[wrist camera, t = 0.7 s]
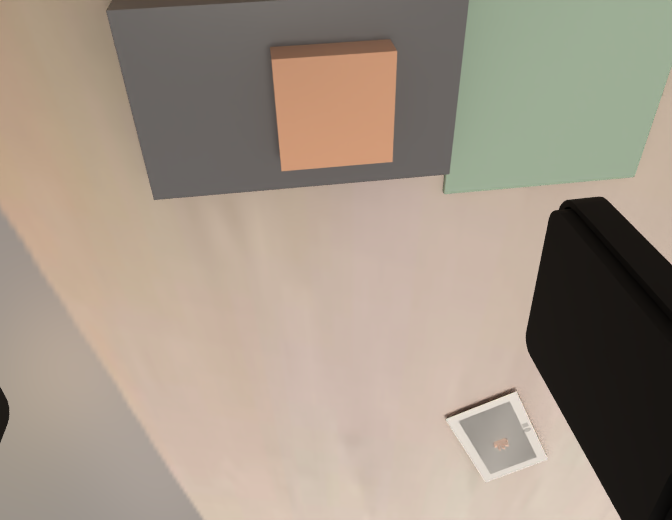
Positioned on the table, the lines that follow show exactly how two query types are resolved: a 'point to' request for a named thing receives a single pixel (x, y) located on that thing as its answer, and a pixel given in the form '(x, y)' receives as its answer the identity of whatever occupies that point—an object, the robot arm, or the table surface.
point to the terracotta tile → (334, 103)
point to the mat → (557, 91)
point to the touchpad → (498, 437)
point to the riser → (258, 92)
